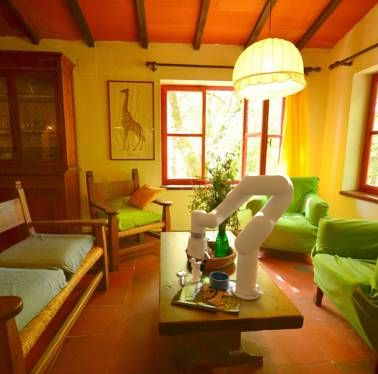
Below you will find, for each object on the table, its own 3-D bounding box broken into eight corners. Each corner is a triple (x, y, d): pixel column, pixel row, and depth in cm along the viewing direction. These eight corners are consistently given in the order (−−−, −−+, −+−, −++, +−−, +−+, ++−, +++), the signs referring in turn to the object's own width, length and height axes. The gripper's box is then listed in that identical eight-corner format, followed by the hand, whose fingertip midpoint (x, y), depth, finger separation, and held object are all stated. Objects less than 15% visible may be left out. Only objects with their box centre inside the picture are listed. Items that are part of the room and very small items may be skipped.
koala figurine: (191, 284, 126) (191, 260, 125) (185, 279, 132) (185, 256, 131) (206, 281, 129) (206, 258, 128) (200, 276, 135) (200, 254, 135)
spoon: (187, 285, 126) (187, 283, 126) (179, 285, 125) (179, 284, 125) (185, 272, 139) (185, 271, 139) (177, 272, 139) (177, 271, 139)
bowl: (232, 285, 127) (233, 275, 126) (222, 293, 120) (222, 283, 119) (216, 278, 133) (216, 269, 133) (205, 285, 126) (205, 276, 125)
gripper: (180, 232, 130) (179, 265, 132) (207, 240, 119) (206, 276, 121) (189, 229, 135) (188, 261, 138) (216, 236, 124) (215, 271, 127)
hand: (197, 268), depth 129 cm, fingers closed on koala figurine, 6 cm apart
